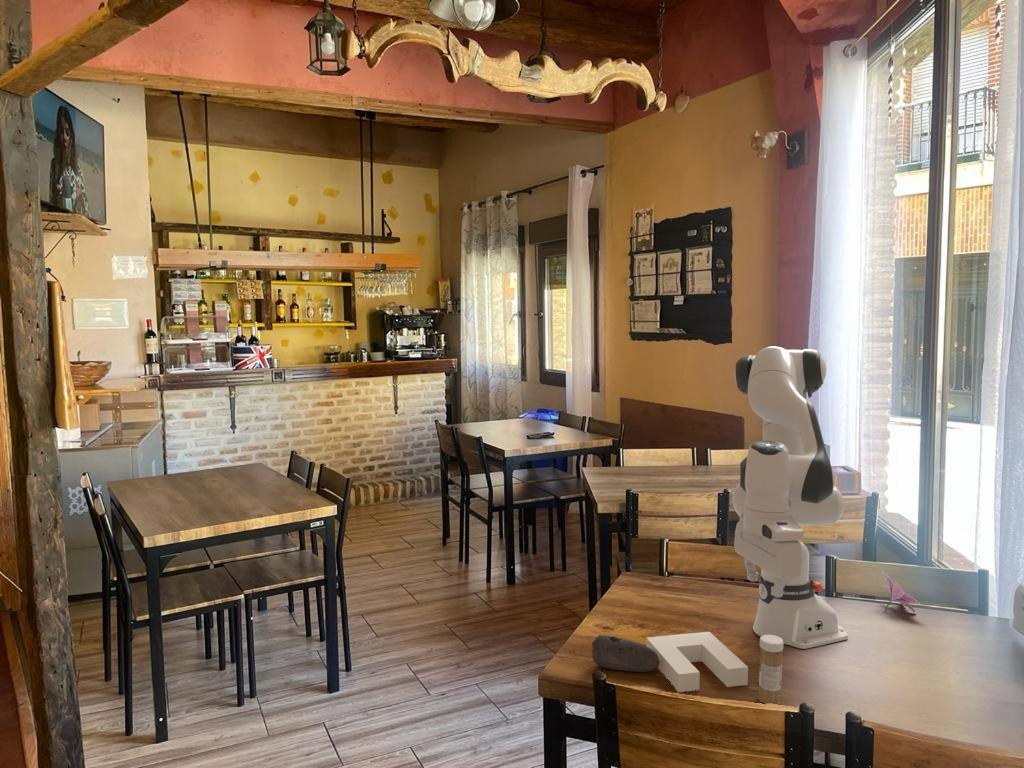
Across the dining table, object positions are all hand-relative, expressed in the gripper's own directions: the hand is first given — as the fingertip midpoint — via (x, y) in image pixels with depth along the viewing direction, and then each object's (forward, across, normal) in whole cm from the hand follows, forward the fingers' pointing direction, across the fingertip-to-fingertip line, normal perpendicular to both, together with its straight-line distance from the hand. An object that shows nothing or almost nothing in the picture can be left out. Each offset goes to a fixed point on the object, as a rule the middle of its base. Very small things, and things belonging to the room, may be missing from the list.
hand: (764, 588), depth 148 cm
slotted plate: (+23, -15, -8) cm, 29 cm away
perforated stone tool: (+24, -18, -23) cm, 37 cm away
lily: (+22, -35, +60) cm, 73 cm away
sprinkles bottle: (+24, +1, +1) cm, 24 cm away
